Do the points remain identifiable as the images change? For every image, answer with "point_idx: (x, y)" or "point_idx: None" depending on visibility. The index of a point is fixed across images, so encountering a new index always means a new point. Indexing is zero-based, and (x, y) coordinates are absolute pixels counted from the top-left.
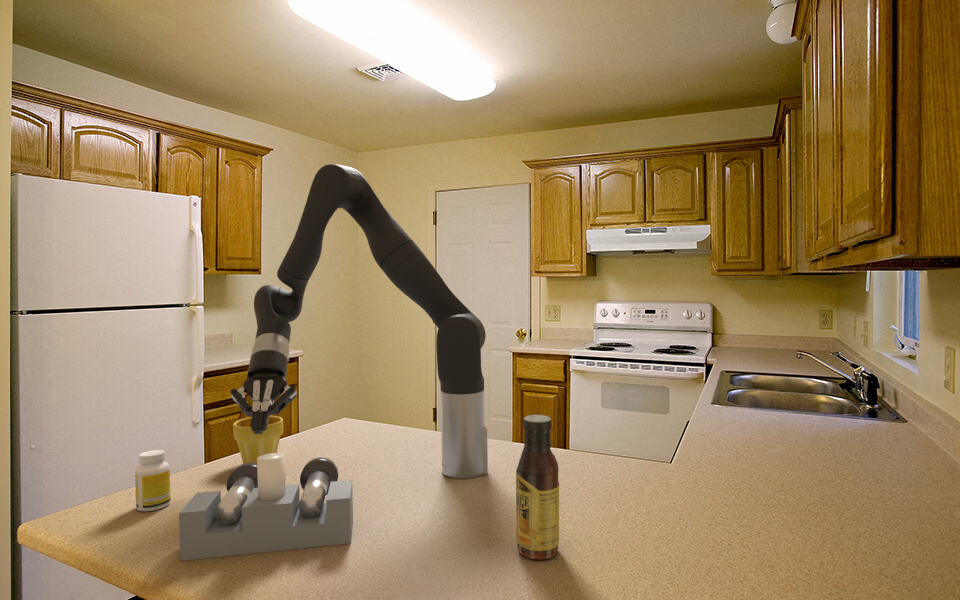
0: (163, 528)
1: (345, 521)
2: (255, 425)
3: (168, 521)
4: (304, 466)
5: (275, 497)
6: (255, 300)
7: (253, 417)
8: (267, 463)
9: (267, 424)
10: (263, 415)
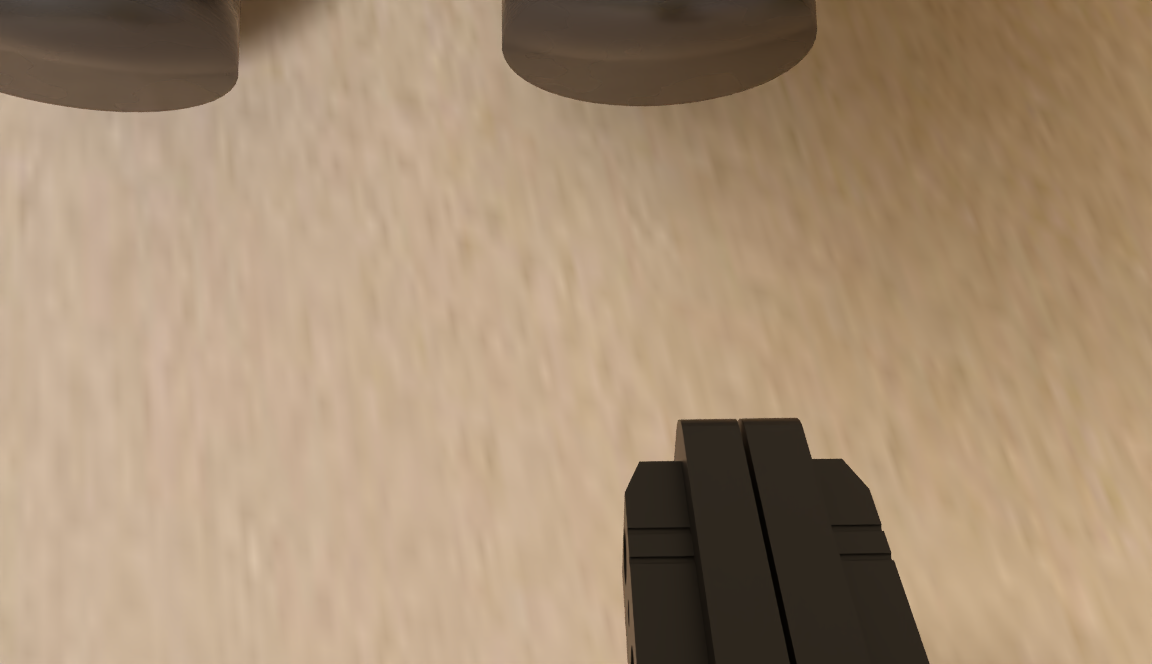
0: (1102, 10)
1: None
2: (777, 441)
3: (1119, 109)
4: (165, 3)
5: None
6: None
7: (879, 614)
8: None
9: (625, 615)
10: (706, 639)
